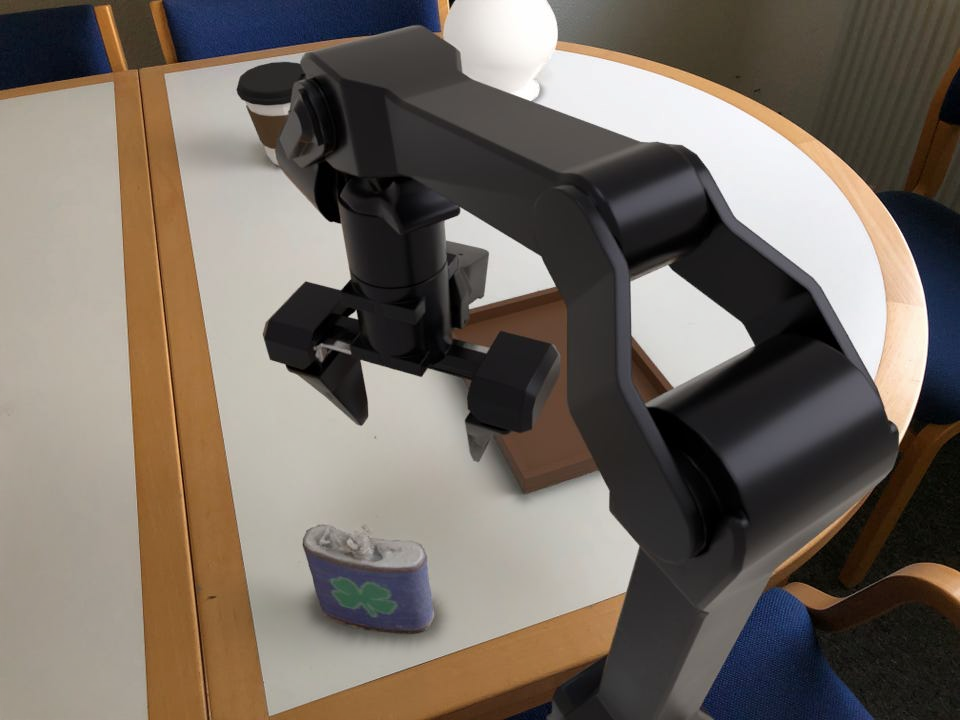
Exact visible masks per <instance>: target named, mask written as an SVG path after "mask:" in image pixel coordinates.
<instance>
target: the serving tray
mask: <svg viewBox="0 0 960 720" xmlns="http://www.w3.org/2000/svg"><path fill="white" fill-rule="evenodd" d="M500 331H504V332H508V333H512V334H516V335H519V336H523V337H527V338H531V339H535V340H539V341H543V342H547V343H551V344H553V345H555V346H556V348H557V349H558V351H559V353H560V355H561V361H560V375H559V377H558V379H557V381H556V383H555V385H554V387H553V389H552V391H551V393H550V395H549V397H548V399H547V401H546V403H545V405H544V407H543V409H542V411H541V413H540V415H539V417H538V419H537V421H536V423H535V425H534V427H533V429H532V430H529V431H526V432H523V433H517V432H514V431H512V432H511V433H510V434H508V435H500V434H496V433H494V434H493V436H492V437H494V439H495V441H496V443H497V445H498V447H499V449H500V451H501V453H502V455H503V456H504V459H505V460H506V462H507V464H508V466H509V467H510V470H511V472H512V474H513V476H514V478H515V479H516V481H517V484H518V485H519V487H520V488H521V491H522V493H523V494H524V495H526V494H530V493H532V492H536V491H539V490H541V489H545V488H548V487H551V486H553V485H558V484H560V483H563V482H565V481H566V482H567V481H569V480H572V479H575V478H578V477H581V476H585V475H587V474H591V473H593V472H597V471H599V470H598V468H597V466H596V464H595V462H594V460H593V458H592V456H591V454H590V452H589V450H588V448H587V446H586V444H585V442H584V440H583V438H582V436H581V434H580V432H579V430H578V429H577V427H576V425H575V423H574V421H573V419H572V417H571V415H570V412H569V408H568V404H567V307H566V304H565V303H564V301H563V299H562V297H561V295H560V293H559V291H558V289H557V287H556V286H553V287H549V288H545V289H541V290H538V291H537V290H536V291H534V292H529V293H526V294H522V295H517V296H514V297H511V298H507V299H503V300H498V301H495V302H491V303H487V304H484V305H480V306H476V307H472V308H469V320H468V322H467V323H466V325H465V326H464V328H463V329H462V330H460V329H457V328H455V329H454V330H453V332H452V334H453V338H454V339H457V340H461V341H465V342H469V343H473V344H477V345H480V346H484V347H488V348H490V347H491V345H492V344H493V342H494V340H495V339H496V337H497V336H498V334H499V332H500ZM632 378H633V382H634V384H635V386H636V388H637V390H638V392H639V394H640V396H641V397H642V399H643V401H644V403H647V402H648V401H650V400H652V399H654V398H656V397H658V396H660V395H662V394H664V393H666V392H668V391H669V390H671V389H673V388H674V387H673V385H672V384H671V383H670V381H669V380H668V378H666V376H665V375H664V374H663V373H662V371H661V370H660V369H659V368H658V366H657V365H656V364H655V363H654V361H653V360H652V359H651V358H650V356H649V355H648V354H647V352H646V351H645V350H644V349H643V347H642V346H641V345H640V344H639V342H637V340H636V339H635V338H634V337H633V336H632ZM462 379H463V381H464V383H465V385H466V386H467V389H469V388H470V384H471V380H468V379H464V378H462Z"/></svg>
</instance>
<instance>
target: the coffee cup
mask: <svg viewBox="0 0 960 720" xmlns="http://www.w3.org/2000/svg"><path fill="white" fill-rule="evenodd" d="M304 79H306V74H305V73H304V71H303V69H302V67H301V64H300V62H299V63H298V62H294V61H293V62H291V61H276V62H269V63H264V64H259V65H257V66H254V67H251V68H249V69H246V71H245V72H243V73H242V74H241V75H240V76H239V78H238V82H237V87H236V94H237V95H238V97H239V98H240V100H242V101H244V102H245V104H246V105H245V108H246V110H247V112H248V115H249V117H250V119H251V122H252V124H253V128H254V129H255V131H256V134H257V137H258V139H259V141H260V143H261V144H262V146H263V148H264V150H265V152H266V155H267V157H268V158H269V160H270V161H271V162H272V163H273V164H274V165H276V166H278V167H279V164H278V162H277V159H276V154H275V148H276V145H277V138H278V135H279V133H280V130H281V128H282V126H283V124H284V123H285V121H286V120H287V118H288V111H289V110H290V103H291V96H292V89H293V85H294V83H295V82H297V81H300V80H304Z"/></svg>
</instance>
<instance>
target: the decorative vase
mask: <svg viewBox="0 0 960 720" xmlns="http://www.w3.org/2000/svg"><path fill="white" fill-rule="evenodd" d="M558 28H559V27H558V22H557V18H556V15H555V13H554V10H553V8H552V7H551V5H550V4H549V2H548V0H454V1H453V3H452V4H451V7H450V9H449V11H448V12H447V15H446V17H445V20H444V25H443V31H442V32H443V33H442V34H443V37H442V39H444V40H445V41H447V42H448V43H450V44H451V45H453V46H454V47H455V48H457V49H458V50H459V51H460V54H461V62H462V71H463V73H464V74H465V75H467V76H468V77H470V78H471V79H473V80H475V81H478V82H481V83H483V84H486V85H489V86H491V87H494V88H497V89H500V90H502V91H505V92H508V93H510V94H513V95H516V96H518V97H521V98H524V99H527V100H529V101H532V102H533V101H534V100H535V99H536V98H537V97H538V96H539V94H540V84H539V82H538V81H537V80H536V79H535V77H536V76H537V75H538V74H539V72H541V70H542V69H543V68H544V67H545V65H546V64H547V63H548V62H549V60H550V58H551V57H552V56H553V54H554V52H555V50H556V47H557V44H558V40H559V39H558V37H559V29H558Z"/></svg>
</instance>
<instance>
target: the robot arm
mask: <svg viewBox="0 0 960 720" xmlns="http://www.w3.org/2000/svg"><path fill="white" fill-rule="evenodd" d="M299 64H301V67H302V69H303V71H304V73H305V74H306V79H304V80H300V81H297V82H295V83H294V85H293V89H292V96H291V103H290V110H289V111H288V118H287V120H286V121H285V123H284V124H283V126H282V128H281V130H280V133H279V135H278V138H277V145H276V148H275V154H276V159H277V162H278V164H279V166H278V167H279V168H280V170H281V171H282V173H283V174H284V175H285V177H286V178H287V179H288V180H289V181H290V182H291V183H292V184H293V185H294V186H295V187H296V189H297V190H298V191H299V192H300V193H301V194H302V195H303V196H304V197H305V198H306V200H307V201H308V202H309V203H310V204H311V205H312V206H313V207H314V208H315V209H316V210H317V212H318V213H320V215H322V217H323V218H324V219H325V220H326V221H328V222H329V223H335V224H339V225H341V230H342V235H343V242H344V248H345V253H346V259H347V264H348V271H349V277H350V278H349V280H348V281H347V283H346V284H345V285H344V286H343V287H342V288H341V289H337V288H333V287H330V286H326V285H322V284H318V283H315V282H310V281H306V280H305V281H304V282H303V283H302V284H301V285H300V286H299V287H298V288H297V289H296V290H294V292H293V293H292V294H291V295H290V296H288V298H287V299H286V300H285V301H284V302H283V303H282V304H281V306H280V307H278V309H277V310H276V311H275V312H274V313H273V314H272V315H271V316H270V317H269V318H268V319H267V320H266V321H265V323H264V327H263V331H262V338H263V341H264V344H265V345H264V346H265V348H266V352H267V355H268V359H269V361H271V362H276V363H279V364H282V365H285V367H286V370H287V371H288V372H289V373H291V374H294V375H296V376H298V377H300V379H301V380H303V381H304V382H305V383H307V384H308V385H309V386H311V387H312V388H313V389H315V390H316V391H317V392H318V393H320V394H321V395H322V396H323V397H325V398H326V399H327V400H328V401H329V402H330V403H332V404H333V405H334V406H335V407H336V408H337V409H338V410H340V411H341V412H342V413H343V414H344V415H345V416H346V417H347V418H348V419H350V420H351V421H352V422H353V423H354V424H355V425H357V426H360V427H362V426H363V425H364V424H365V423H366V421H367V420H368V418H369V400H368V394H367V393H368V392H367V388H366V383H365V378H364V372H363V366H362V361H363V362H367V363H370V364H374V365H377V366H380V367H384V368H388V369H392V370H394V371H399V372H402V373H406V374H409V375H412V376H415V377H419V378H422V377H423V376H424V374H425V373H426V372H427V370H432V371H434V372H435V371H436V372H440V373H442V374H447V375H450V376H454V377H458V378H460V379H463V378H464V379H468V380H471V384H470V388H468V392H467V396H466V398H467V399H466V400H467V401H466V404H467V411H469V412H468V414H467V415H466V417H465V419H464V424H465V432H466V437H467V443H468V449H469V455H470V457H471V459H472V461H473V462H476V463H480V461H481V459H482V457H483V456H484V454H485V452H486V450H487V447H488V445H489V443H490V440H491V438H492V437H494V436H493V434H494V433H496V434H500V435H508V434H510V433H511V432H512V431H514V432H517V433H523V432H526V431H529V430H532V429H533V427H534V425H535V423H536V421H537V419H538V417H539V415H540V413H541V411H542V409H543V407H544V405H545V403H546V401H547V399H548V397H549V395H550V393H551V391H552V389H553V387H554V385H555V383H556V381H557V379H558V377H559V375H560V361H561V355H560V353H559V351H558V349H557V348H556V346H555V345H553V344H551V343H547V342H543V341H539V340H535V339H531V338H527V337H523V336H519V335H516V334H512V333H508V332H504V331H500V332H499V334H498V336H497V337H496V339H495V340H494V342H493V344H492V345H491V347H490V348H488V347H484V346H480V345H477V344H473V343H469V342H465V341H461V340H457V339H454V338H453V334H452V332H453V330H454V329H455V328H457V329H460V330H462V329H463V328H464V326H465V325H466V323H467V322H468V320H469V309H470V305H471V304H472V303H474V302H475V301H477V300H478V299H479V300H482V298H484V297H485V292H486V283H487V274H488V267H489V258H490V251H489V250H487V249H485V248H481V247H478V246H474V245H473V246H472V245H469V244H464V243H459V242H456V241H450V240H447V238H446V237H447V236H446V222H445V221H447V220H450V219H454V218H456V217H458V216H460V214H461V209H462V210H464V211H465V212H467V213H469V214H470V215H472V216H474V217H475V218H477V219H479V220H481V221H482V222H483V223H486V224H487V225H489V226H491V227H492V228H494V229H495V230H497V231H499V232H500V233H502V234H503V235H505V236H507V237H508V238H510V239H512V240H513V241H515V242H517V244H520V245H522V246H523V247H524V248H527V249H528V250H530V251H532V252H533V253H535V254H536V255H537V256H539V257H541V259H542V262H543V264H544V267H545V268H546V270H547V272H548V273H549V275H550V277H551V279H552V282H553V284H554V286H555V287H557V289H558V291H559V293H560V295H561V297H562V299H563V301H564V303H565V304H566V307H567V404H568V408H569V412H570V415H571V417H572V419H573V421H574V423H575V425H576V427H577V429H578V430H579V432H580V434H581V436H582V438H583V440H584V442H585V444H586V446H587V448H588V450H589V452H590V454H591V456H592V458H593V460H594V462H595V464H596V466H597V468H598V470H597V471H598V472H599V474H600V475H601V477H602V479H603V481H604V483H605V485H606V487H607V489H608V491H609V492H608V493H609V494H608V510H609V512H610V514H611V515H612V516H613V517H614V519H615V520H616V521H617V522H618V523H619V524H620V526H621V527H622V528H623V529H624V530H625V532H627V533H628V535H629V536H630V537H631V538H632V539H633V540H634V542H635V543H636V544H637V545H638V549H637V553H636V556H635V560H634V562H633V567H632V570H631V574H630V577H629V580H628V584H627V587H626V591H625V594H624V598H623V601H622V605H621V608H620V611H619V616H618V618H617V623H616V626H615V630H614V632H613V636H612V640H611V643H610V646H609V647H610V648H609V650H608V653H606V654H605V655H603V656H602V657H600V658H598V660H596V661H594V662H592V663H591V664H589V665H588V666H586V667H585V668H584V669H582V670H581V671H580V672H577V673H576V674H575V675H573V676H572V677H570V678H569V679H567V680H566V681H564V682H562V683H561V684H559V685H558V686H557V687H556V689H555V691H554V692H553V694H552V697H551V707H552V709H551V713H549V714H548V715H546V716H545V717H546V720H715V719H714V717H713V716H712V715H711V714H710V712H709V711H708V710H707V708H706V707H705V706H704V705H703V703H704V701H705V699H706V698H707V695H708V693H709V692H710V690H711V688H712V687H713V684H714V682H715V680H716V679H717V677H718V675H719V674H720V671H721V669H722V667H723V666H724V664H725V662H726V660H727V658H728V656H729V655H730V652H731V651H732V649H733V647H734V645H735V644H736V642H737V640H738V638H739V637H740V634H741V632H742V631H743V629H744V627H745V625H746V624H747V621H748V620H749V618H750V616H751V614H752V612H753V610H754V609H755V606H756V605H757V603H758V601H759V599H760V597H761V596H762V593H763V592H764V590H765V588H766V586H767V584H768V583H769V581H770V579H771V577H772V575H773V574H774V572H775V571H776V570H777V569H778V568H779V567H781V565H783V564H784V563H785V562H787V561H788V560H789V559H790V558H792V557H793V556H794V555H795V554H796V553H798V552H799V551H800V550H801V549H803V548H805V546H807V545H808V544H809V543H810V542H812V541H813V540H814V539H815V538H817V537H819V535H820V534H821V533H823V532H824V531H825V530H826V529H828V528H829V527H830V526H832V525H833V524H834V523H835V522H837V521H839V519H841V517H843V515H845V514H846V513H848V511H849V510H851V509H852V508H854V506H855V505H856V504H857V503H859V502H860V501H861V500H862V499H863V498H864V497H865V496H866V495H867V494H869V493H870V492H871V491H872V490H873V489H874V488H876V486H878V485H879V484H880V483H881V482H882V481H883V480H884V479H886V477H887V476H888V475H889V473H890V472H891V471H892V470H893V468H894V467H895V463H896V460H897V458H898V454H899V450H900V431H899V428H898V426H897V425H896V423H895V422H893V421H892V420H890V419H889V418H888V415H887V412H886V409H885V405H884V401H883V399H882V397H881V394H880V391H879V389H878V387H877V385H876V383H875V381H874V379H873V378H872V376H871V374H870V372H869V370H868V369H867V367H866V365H865V363H864V361H863V359H862V358H861V356H860V354H859V352H858V351H857V348H856V347H855V345H854V343H853V342H852V340H851V338H850V336H849V334H848V333H847V331H846V329H845V327H844V326H843V323H842V322H841V320H840V318H839V317H838V315H837V313H836V311H835V309H834V307H833V306H832V304H831V302H830V300H829V298H828V296H827V295H826V293H825V292H824V290H823V288H822V286H821V285H820V284H819V283H818V281H817V280H816V279H815V278H814V277H813V276H812V275H810V274H809V273H808V272H806V271H805V270H804V269H802V267H800V266H798V265H797V264H796V263H795V262H793V261H792V260H791V259H789V258H788V257H787V256H786V255H784V254H783V253H782V252H781V251H779V250H778V249H777V248H775V247H774V246H772V245H771V244H770V243H769V242H767V241H766V240H764V239H763V237H761V236H760V235H759V234H757V233H756V232H754V231H753V230H752V229H750V227H748V226H746V224H744V223H743V222H741V220H739V219H738V218H736V216H735V215H734V213H733V211H732V209H731V208H730V206H729V203H728V202H727V200H726V198H725V196H724V195H723V193H722V191H721V189H720V187H719V186H718V184H717V182H716V180H715V178H714V176H713V175H712V173H711V171H710V170H709V168H708V167H707V166H706V164H705V163H704V161H702V159H701V158H700V156H699V155H698V154H697V153H696V152H694V151H692V150H691V149H690V148H687V147H686V146H685V145H683V144H677V143H676V144H675V143H665V142H661V141H640V140H637V139H634V138H632V137H629V136H626V135H624V134H621V133H618V132H616V131H613V130H610V129H608V128H605V127H602V126H600V125H597V124H594V123H591V122H588V121H586V120H583V119H580V118H577V117H575V116H572V115H570V114H567V113H564V112H561V111H559V110H556V109H554V108H551V107H548V106H545V105H543V104H540V103H537V102H536V101H535V102H534V101H533V100H532V101H529V100H527V99H524V98H521V97H518V96H516V95H513V94H510V93H508V92H505V91H502V90H500V89H497V88H494V87H491V86H489V85H486V84H483V83H481V82H478V81H475V80H473V79H471V78H470V77H468V76H467V75H465V74H464V73H463V71H462V62H461V54H460V51H459V50H458V49H457V48H455V47H454V46H453V45H451V44H450V43H448V42H447V41H445V40H444V38H443V37H441V36H439V35H437V34H436V33H434V32H433V31H431V30H430V29H428V28H427V27H425V26H423V25H421V24H415V25H409V26H406V27H402V28H398V29H394V30H389V31H385V32H382V33H378V34H374V35H371V36H367V37H363V38H358V39H355V40H350V41H347V42H343V43H338V44H335V45H330V46H327V47H323V48H318V49H315V50H310V51H307V52H304V54H303V55H302V56H301V58H300V61H299ZM666 266H668V267H669V268H670V269H671V270H672V272H674V273H675V274H677V276H679V277H680V278H682V279H683V280H684V281H686V282H687V283H688V284H689V285H691V286H692V287H694V288H695V289H696V290H698V292H700V293H702V294H703V295H704V296H705V297H707V298H708V299H709V300H711V301H713V302H714V303H715V304H716V305H717V306H719V307H720V308H722V309H723V310H724V311H725V312H727V313H729V315H731V316H732V317H733V318H735V319H736V320H738V321H739V322H740V323H741V324H742V325H743V327H744V329H745V331H746V333H747V334H748V336H749V338H750V339H751V341H752V343H753V346H751V347H749V348H747V349H746V350H744V351H742V352H740V353H738V354H736V355H734V356H732V357H730V358H728V359H727V360H725V361H722V362H720V363H719V364H717V365H715V366H714V367H711V368H709V369H707V370H706V371H704V372H702V373H700V374H698V375H696V376H694V377H692V378H691V379H688V380H686V381H685V382H683V383H681V384H679V385H677V386H675V387H673V389H671V390H669V391H668V392H666V393H664V394H662V395H660V396H658V397H656V398H654V399H652V400H650V401H648V402H647V403H644V401H643V399H642V397H641V396H640V394H639V392H638V390H637V388H636V386H635V384H634V382H633V378H632V337H633V335H632V292H631V287H632V285H631V282H634V281H635V280H638V279H640V278H643V277H644V276H647V275H649V274H651V273H654V272H655V271H658V270H660V269H663V268H665V267H666ZM355 312H356V317H357V318H355V317H351V316H352V315H353V314H354V313H355ZM464 379H463V380H464Z"/></svg>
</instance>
